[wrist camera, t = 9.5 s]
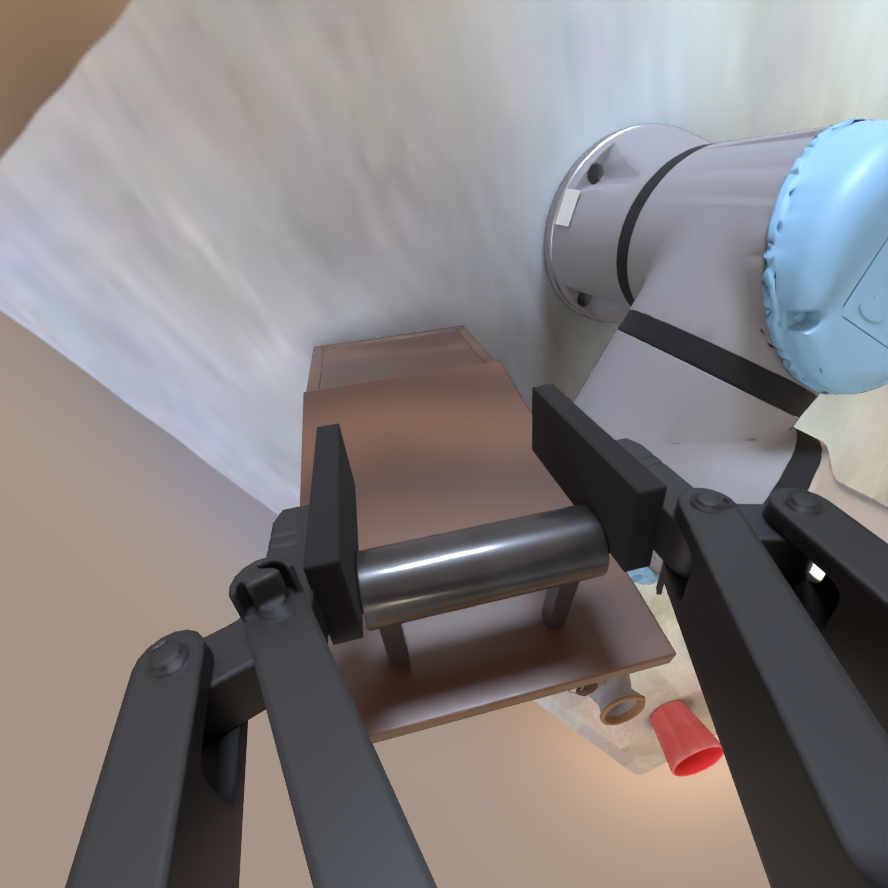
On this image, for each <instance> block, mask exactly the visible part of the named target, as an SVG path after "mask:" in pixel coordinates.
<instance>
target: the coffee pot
mask: <svg viewBox="0 0 888 888" xmlns="http://www.w3.org/2000/svg"><path fill="white" fill-rule="evenodd" d="M568 691H569V692H570V693H577V694H578V695H582V696H587V695H589V696H590V697H591V698H592V699H593V700H594V701H595V702H596V703H597V704H598V705H599V708H600V711H601V714H600V719H601V721H602V722H603V723H604V724H606V725H617V724H621V723H624V722H626V721H628V720H630V719H632V718H634V717H635V716H637V715H638V714H639V713H640V712H641V711H642V710H643V708H644V706H645V697H644V696H642V695H640V694H639V693H637V692H636V691H634V690H633V689H632V688H631V683H630V677H629V674H626V675H623V676H619V677H615V678H612V679H608V680H604V681H601V682H597V683H593V684H590V685H586V686H582V687H578V688H577V689H576V692H571V691H570V690H568Z"/></svg>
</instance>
